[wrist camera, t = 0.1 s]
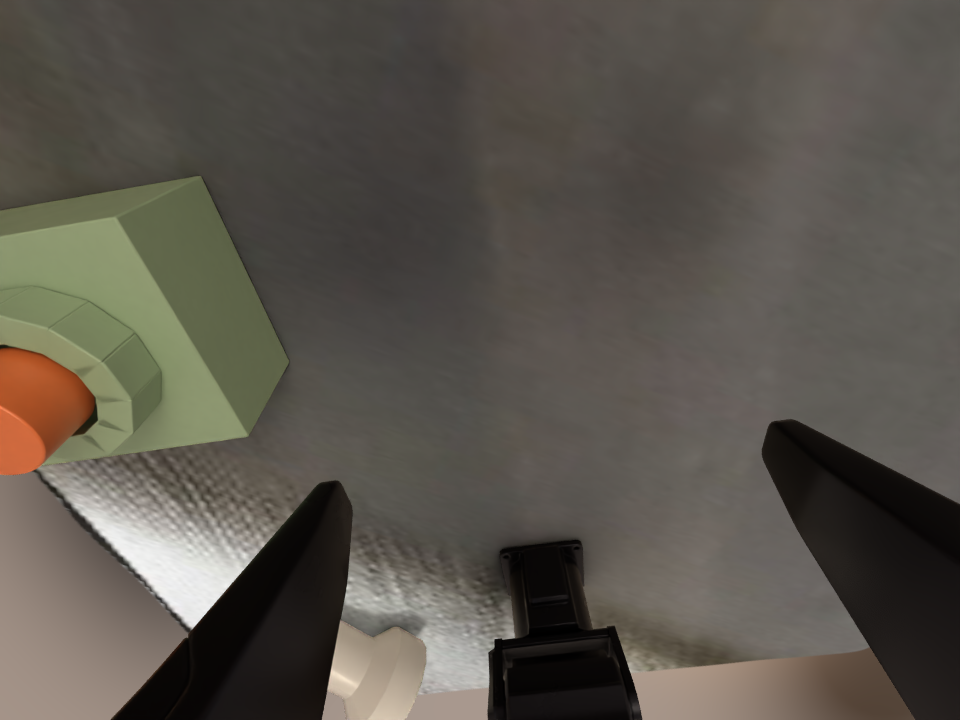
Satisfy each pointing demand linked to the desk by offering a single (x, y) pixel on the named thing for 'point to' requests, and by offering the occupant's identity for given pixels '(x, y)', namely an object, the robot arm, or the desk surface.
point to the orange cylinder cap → (37, 408)
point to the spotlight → (377, 672)
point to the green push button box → (140, 316)
